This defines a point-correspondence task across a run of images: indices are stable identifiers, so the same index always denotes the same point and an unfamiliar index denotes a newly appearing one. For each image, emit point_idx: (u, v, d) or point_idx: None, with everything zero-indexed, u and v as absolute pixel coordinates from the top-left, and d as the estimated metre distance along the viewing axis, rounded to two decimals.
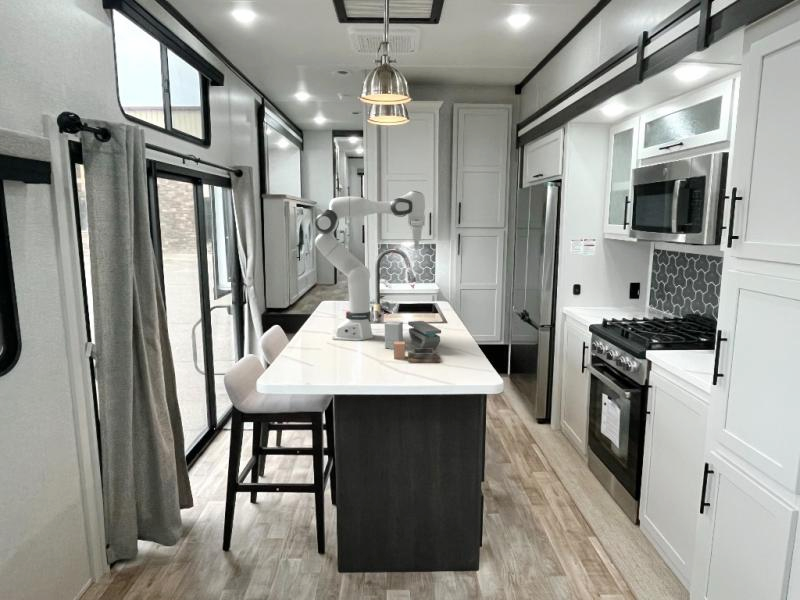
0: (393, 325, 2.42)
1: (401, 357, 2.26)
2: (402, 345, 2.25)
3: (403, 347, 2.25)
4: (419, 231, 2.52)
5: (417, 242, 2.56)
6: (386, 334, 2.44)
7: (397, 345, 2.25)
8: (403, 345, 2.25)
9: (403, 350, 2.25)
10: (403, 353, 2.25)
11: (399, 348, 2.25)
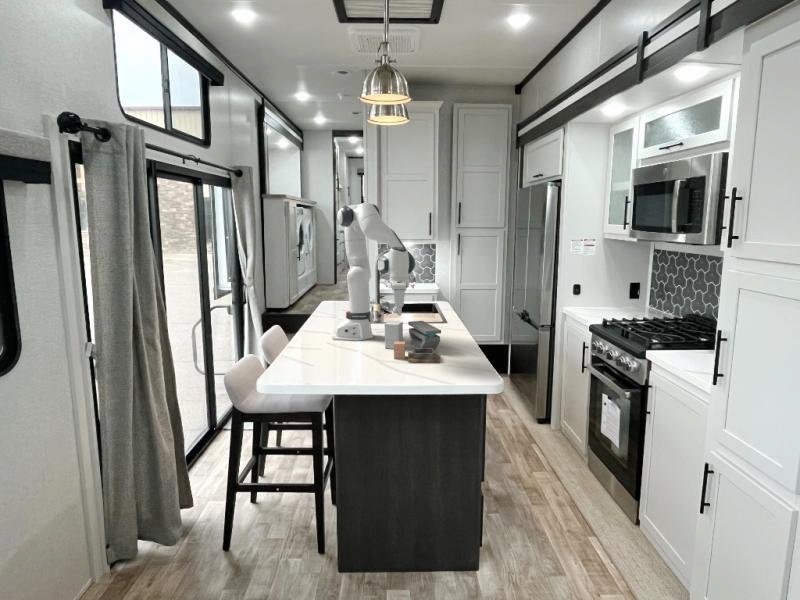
0: (393, 325, 2.42)
1: (401, 357, 2.26)
2: (402, 345, 2.25)
3: (403, 347, 2.25)
4: (402, 296, 2.14)
5: (400, 307, 2.18)
6: (386, 334, 2.44)
7: (397, 345, 2.25)
8: (403, 345, 2.25)
9: (403, 350, 2.25)
10: (403, 353, 2.26)
11: (399, 348, 2.25)
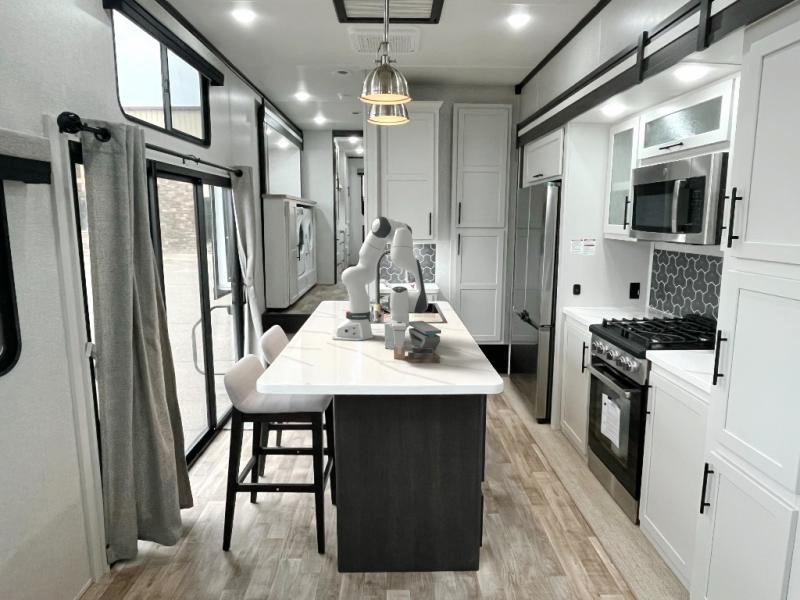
0: None
1: (401, 357, 2.26)
2: None
3: (403, 347, 2.25)
4: (402, 336, 2.17)
5: (400, 346, 2.23)
6: (386, 334, 2.44)
7: None
8: None
9: (403, 350, 2.25)
10: (403, 353, 2.26)
11: None
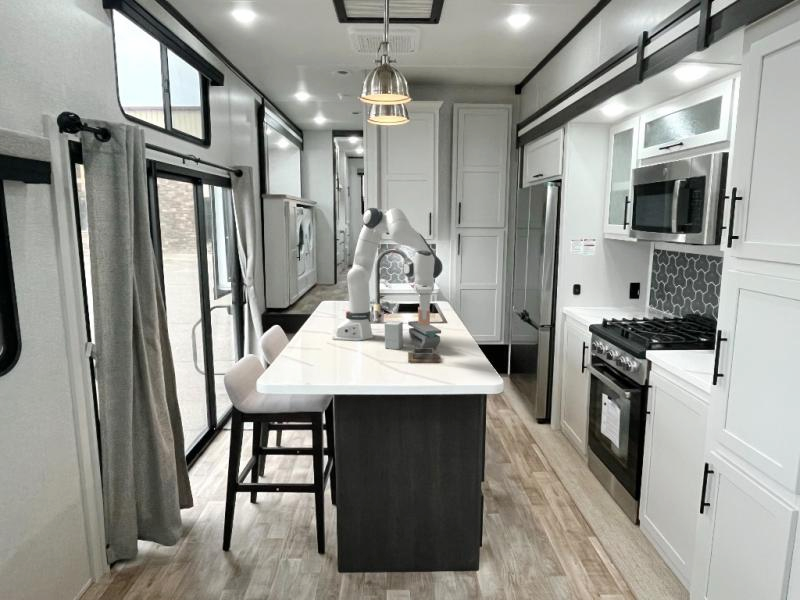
0: (393, 325, 2.42)
1: (426, 322, 2.21)
2: None
3: (428, 312, 2.21)
4: (427, 300, 2.13)
5: (425, 311, 2.18)
6: (386, 334, 2.44)
7: None
8: None
9: (428, 315, 2.21)
10: (428, 318, 2.21)
11: None
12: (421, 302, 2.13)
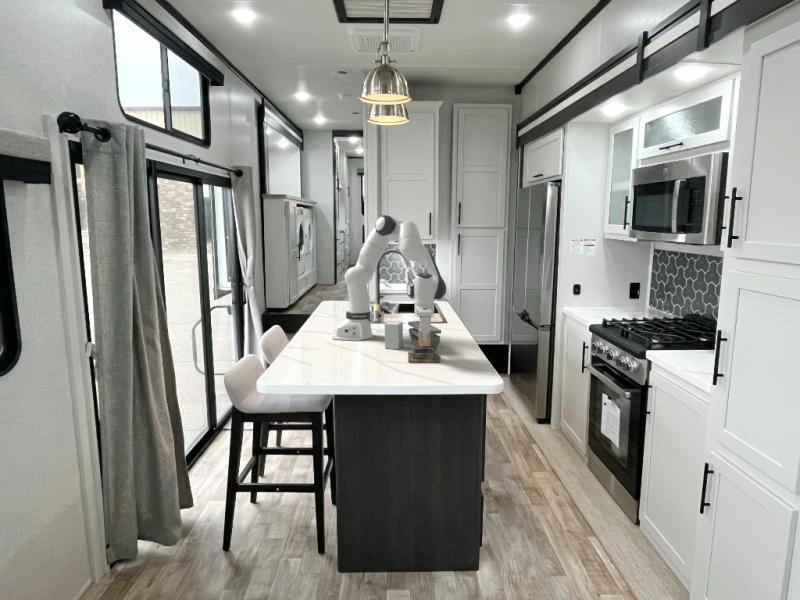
0: (393, 325, 2.42)
1: (426, 344, 2.23)
2: None
3: (428, 334, 2.22)
4: (428, 323, 2.14)
5: (425, 333, 2.20)
6: (386, 334, 2.44)
7: None
8: None
9: (428, 337, 2.22)
10: (428, 340, 2.23)
11: None
12: (421, 325, 2.14)
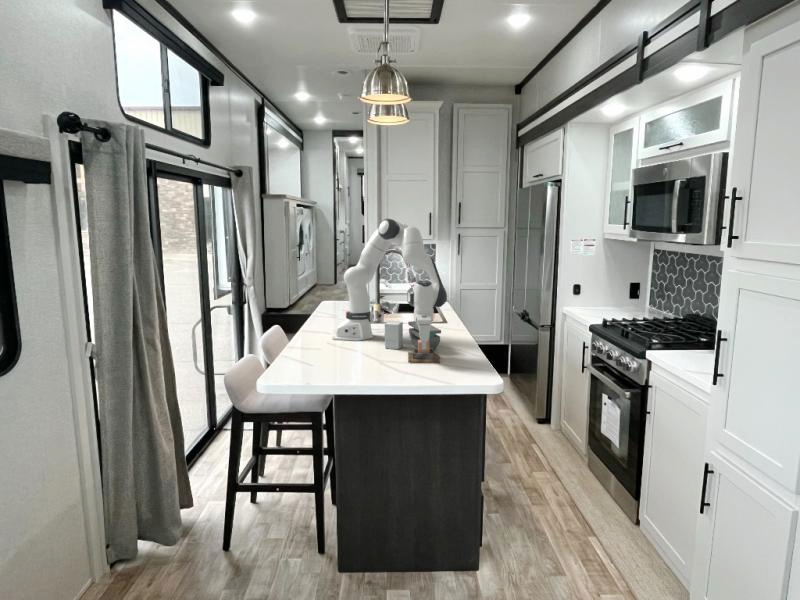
0: (393, 325, 2.42)
1: None
2: (426, 343, 2.23)
3: (427, 345, 2.23)
4: (427, 331, 2.15)
5: (424, 342, 2.19)
6: (386, 334, 2.44)
7: (421, 343, 2.23)
8: (427, 343, 2.23)
9: (427, 348, 2.23)
10: (427, 351, 2.23)
11: None
12: (421, 333, 2.15)
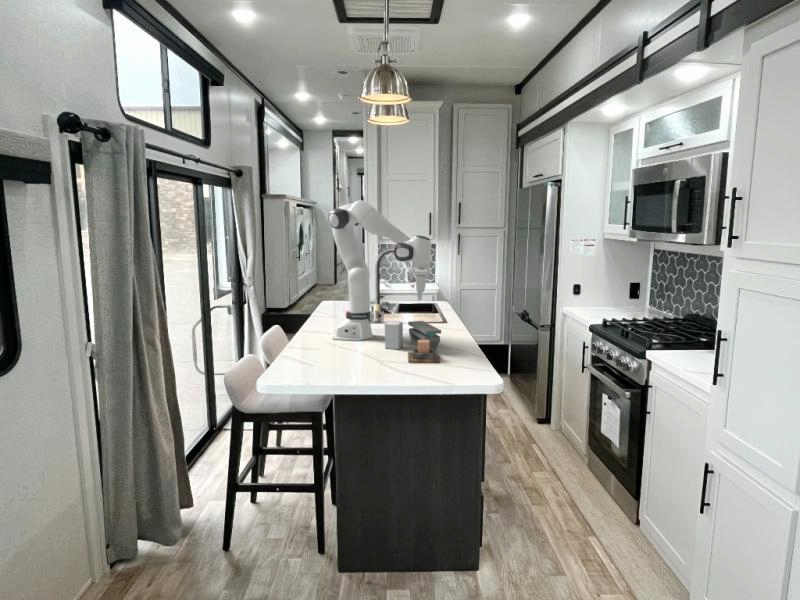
0: (393, 325, 2.42)
1: None
2: (426, 343, 2.23)
3: (427, 345, 2.23)
4: (423, 281, 2.27)
5: (420, 293, 2.31)
6: (386, 334, 2.44)
7: (421, 343, 2.23)
8: (427, 343, 2.23)
9: (427, 348, 2.23)
10: (427, 351, 2.23)
11: (423, 346, 2.23)
12: (417, 283, 2.27)
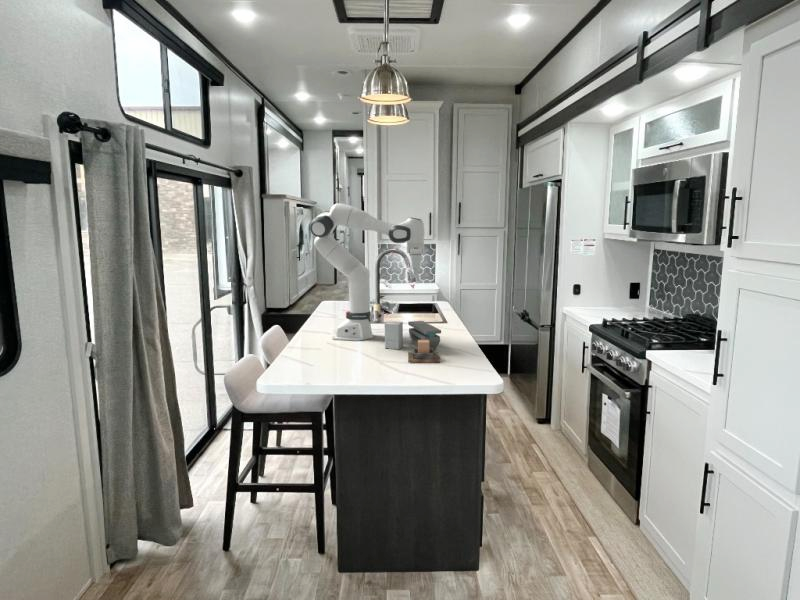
0: (393, 325, 2.42)
1: None
2: (426, 343, 2.23)
3: (427, 345, 2.23)
4: (418, 259, 2.44)
5: (416, 270, 2.48)
6: (386, 334, 2.44)
7: (421, 343, 2.23)
8: (427, 343, 2.23)
9: (427, 348, 2.23)
10: (427, 351, 2.23)
11: (423, 346, 2.23)
12: (413, 261, 2.44)
